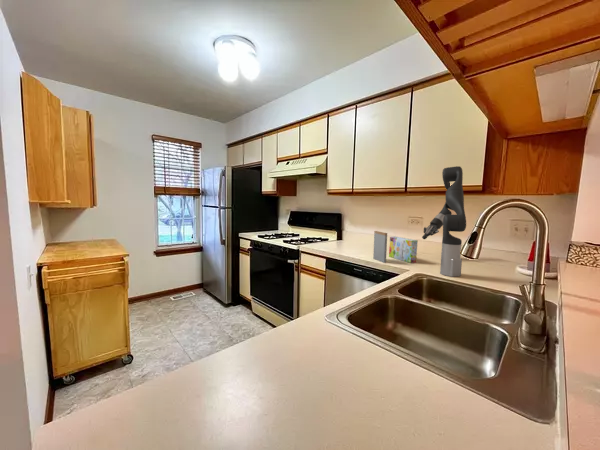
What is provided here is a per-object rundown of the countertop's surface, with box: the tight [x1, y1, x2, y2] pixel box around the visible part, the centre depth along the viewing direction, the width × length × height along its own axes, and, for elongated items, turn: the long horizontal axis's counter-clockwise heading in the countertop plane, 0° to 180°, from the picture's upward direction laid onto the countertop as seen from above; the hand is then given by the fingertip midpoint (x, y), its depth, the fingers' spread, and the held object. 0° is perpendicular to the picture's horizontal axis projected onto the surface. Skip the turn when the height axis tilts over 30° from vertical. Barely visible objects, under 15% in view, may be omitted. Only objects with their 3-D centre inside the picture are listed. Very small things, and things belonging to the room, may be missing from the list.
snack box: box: [388, 236, 418, 264], centre depth 180 cm, size 21×6×15 cm, turn 22°
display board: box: [372, 230, 388, 264], centre depth 175 cm, size 13×2×20 cm, turn 15°
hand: (423, 238), depth 184 cm, fingers closed
